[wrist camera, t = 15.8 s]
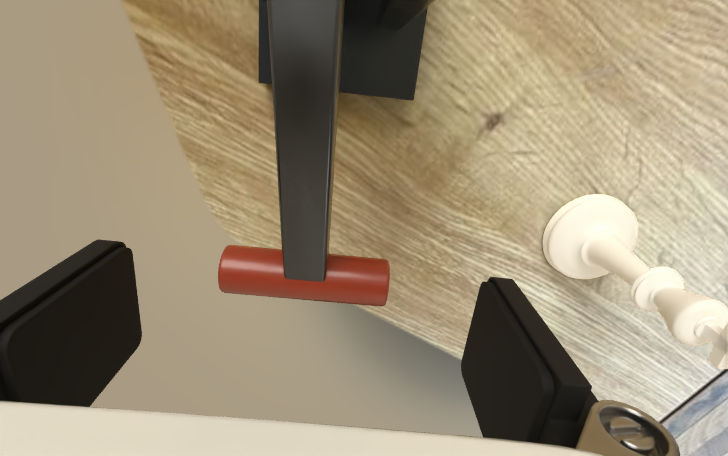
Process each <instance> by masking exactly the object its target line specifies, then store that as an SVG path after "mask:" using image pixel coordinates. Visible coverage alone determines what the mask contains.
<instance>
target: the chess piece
mask: <svg viewBox="0 0 728 456" xmlns="http://www.w3.org/2000/svg"><path fill="white" fill-rule="evenodd" d="M638 233H639V228H638V222H637V219H636V217H635V215H634V213H633V212H632V211H631V210H630V209H629V208H628V207H627V206H626V205H625V204H624V203H623V202H621V201H620V200H618V199H617V198H615V197H612V196H609V195H604V194H591V195H586V196H582V197H579V198H577V199H574V200H572V201H570V202H569V203H567V204H566V205H564V206H563V207H562V208H560V209H559V210H558V211H557V212H556V213H555V214H554V216H553V217H552V218H551V219H550V221H549V223H548V224H547V226H546V229H545V232H544V235H543V243H542V244H543V252H544V255H545V257H546V259H547V261H548V262H549V263H550V265H551V266H552V267H554V268H555V269H556V270H558V271H560V272H561V273H562V274H564V275H566V276H568V277H571V278H576V279H593V278H597V277H601V276H603V275H606V274H608V273H610V272H611V273H612V274H614V275H616V276H617V277H619V278H621V279H622V280H624V281H626V282H627V283H629V284H630V285H632V286H631V289H630V299H631V301H632V303H633V304H634V305H635V306H636V307H638V308H640V309H643V310H645V311H650V312H656V311H659V312H660V314H661V315H662V317H663V318H664V320H665V322H666V324H667V327H668V329H669V330H670V332H671V334H672V335H673V337H674V338H675V339H676V340H677V341H679V342H680V343H683V344H686V345H693V346H694V345H702V344H706V343H709V342H711V343H713V344H714V345H715V346H714V348H713V349H712V351H711V353H710V355H709V357H708V358H707V360H708V361H710V362H711V363H712V364H713V365H714V366H715V367H717V368H722V369H728V308H727V307H726V306H725V305H724V304H723V303H721V302H720V301H717V300H715V299H712V298H709V297H706V296H701V295H697V294H693V293H691V292H688V291H685V290H684V281H683V278H682V277H681V276H680V274H679V273H678V272H677V271H676V270H675V269H673V268H670V267H655V268H652V269H650V268H649V267H647V266H646V265H645V264H644V263H643V262H642V261H641V260H640V259H639V258H638V257H637V256H636V255H635V254H634V253H633V252H632V251H633V250H634V248H635V245H636V243H637V239H638Z"/></svg>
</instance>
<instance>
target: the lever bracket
mask: <svg viewBox="0 0 728 456" xmlns="http://www.w3.org/2000/svg"><path fill="white" fill-rule="evenodd" d="M434 1H435V0H345V5H344V21H343V36H342V52H341V68H340V83H339V92H343V93H352V94H360V95H369V96H378V97H387V98H395V99H404V100H414V94H415V87H416V80H417V74H418V67H419V60H420V54H421V47H422V41H423V34H424V27H425V21H426V14H427V7H428V6H429V5H430V4H431V3H433V2H434ZM259 83H264V84H272V73H271V57H270V40H269V24H268V7H267V0H259Z"/></svg>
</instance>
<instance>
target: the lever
mask: <svg viewBox="0 0 728 456" xmlns="http://www.w3.org/2000/svg"><path fill="white" fill-rule="evenodd" d="M344 5H345V0H267V7H268V24H269V40H270V57H271V73H272V90H273V106H274V123H275V139H276V156H277V172H278V189H279V205H280V222H281V238H282V250H281V249H270V248H259V247H249V246H238V245H229V246H227V247H226V248H225V250H224V251H223V254H222V256H221V259H220V264H219V271H218V282H219V288H220V290H221V291H222V292H224V293H233V294H245V295H256V296H269V297H279V298H292V299H303V300H314V301H325V302H326V301H327V302H337V303H348V304H360V305H371V306H384V305H385V304H386V301H387V297H388V291H389V280H390V266H389V262H388V260H386V259H378V258H367V257H356V256H345V255H335V254H329V240H330V225H331V209H332V193H333V177H334V162H335V146H336V130H337V115H338V99H339V83H340V68H341V52H342V36H343V21H344Z"/></svg>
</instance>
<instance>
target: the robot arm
mask: <svg viewBox="0 0 728 456" xmlns="http://www.w3.org/2000/svg"><path fill="white" fill-rule="evenodd" d="M141 337H142V331H141V323H140V314H139V305H138V296H137V288H136V279H135V271H134V262H133V254H132V251H131V249H130V248H126V246H125V244H124V243H123V242H118V241H107V240H96V241H94V242H92V243H91V244H89V245H88V246H86V247H84V248H83V249H81V250H80V251H78V252H76V253H75V254H73V255H72V256H70V257H68V258H67V259H65V260H64V261H62V262H60V263H59V264H57V265H56V266H54V267H53V268H51V269H49V270H48V271H46V272H45V273H43V274H42V275H40V276H38V277H37V278H35V279H34V280H32V281H30V282H29V283H27V284H25V285H24V286H22V287H21V288H19V289H18V290H16V291H14V292H13V293H11V294H10V295H8V296H7V297H5V298H3V299H2V300H0V456H680V452H679V447H678V444H677V443H676V441H675V439H674V438H673V436H672V435H671V434H670V433H669V432H668V431H667V429H666V428H665V427H664V426H663V425H662V424H660V423H659V422H658V421H656V420H655V419H654V418H653V417H651V416H650V415H648V414H646V413H645V412H643V411H641V410H639V409H638V408H635V407H633V406H630V405H628V404H625V403H622V402H617V401H613V400H602V401H598V400H597V398H596V397H595V396H594V394H593V393H592V392H591V388H592V386H591V385H590V383H589V382H588V380H587V379H586V378H585V376H584V375H583V374H582V372H581V371H580V370H579V368H578V367H577V366H576V364H575V363H574V362H573V360H572V359H571V357H570V356H569V355H568V353H567V352H566V351H565V349H564V348H563V347H562V345H561V344H560V343H559V341H558V340H557V338H556V337H555V336H554V334H553V333H552V332H551V330H550V329H549V328H548V326H547V325H546V324H545V322H544V321H543V319H542V318H541V317H540V315H539V314H538V313H537V311H536V310H535V309H534V307H533V306H532V305H531V303H530V302H529V301H528V299H527V298H526V296H525V295H524V294H523V292H522V291H521V290H520V288H519V287H518V286H517V284H516V283H515V282H514V280H512V279H506V278H496V277H490V278H489V279H488V281H487V282H482V284H481V286H480V289H479V293H478V297H477V301H476V305H475V309H474V313H473V317H472V321H471V325H470V329H469V334H468V338H467V342H466V346H465V350H464V354H463V358H462V363H461V370H462V376H463V379H464V382H465V385H466V388H467V391H468V394H469V397H470V400H471V403H472V405H473V408H474V411H475V414H476V417H477V420H478V423H479V426H480V429H481V432H482V435H483V437H472V436H460V435H447V434H435V433H423V432H410V431H398V430H387V429H374V428H362V427H348V426H336V425H323V424H311V423H298V422H285V421H272V420H259V419H246V418H233V417H219V416H206V415H192V414H179V413H165V412H151V411H138V410H124V409H110V408H95V407H90V405H91V404H92V403H93V402H94V400H95V399H96V398H97V397H98V396H99V394H100V393H101V392H102V391H103V390H104V388H105V387H106V386H107V384H108V383H109V382H110V381H111V380H112V378H113V377H114V376H115V374H116V373H117V372H118V371H119V370H120V369H121V367H122V366H123V365H124V364H125V363H126V361H127V360H128V359H129V358H130V356H131V355H132V354H133V353H134V352H135V350H136V349H137V347H138V346H139V344H140V341H141Z"/></svg>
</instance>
